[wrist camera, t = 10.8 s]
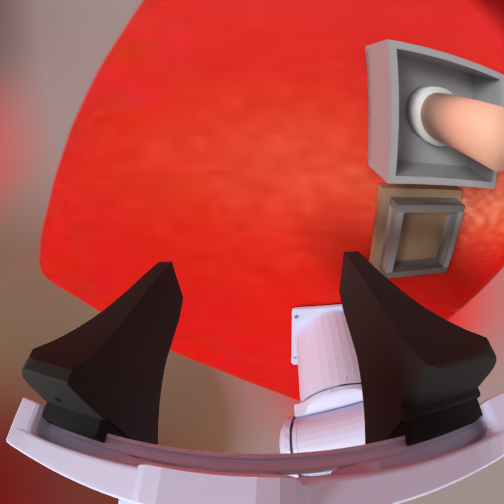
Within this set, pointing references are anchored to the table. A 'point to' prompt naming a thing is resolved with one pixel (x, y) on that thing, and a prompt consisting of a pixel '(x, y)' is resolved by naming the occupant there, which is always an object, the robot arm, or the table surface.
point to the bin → (395, 120)
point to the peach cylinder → (458, 124)
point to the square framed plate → (415, 228)
